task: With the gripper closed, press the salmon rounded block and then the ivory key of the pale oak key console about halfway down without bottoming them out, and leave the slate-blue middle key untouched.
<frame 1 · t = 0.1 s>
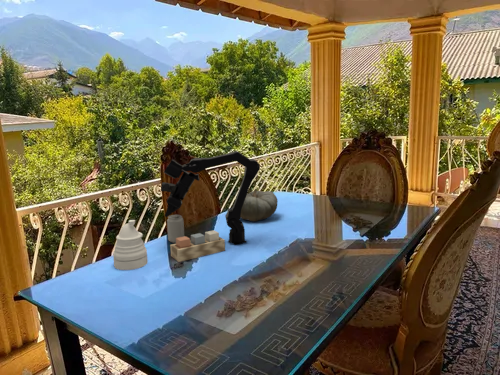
hand: (166, 213, 170), 15 cm above the table, fingers open, 9 cm apart
can: (176, 241, 179), on the table
gourd: (255, 218, 215), on the table
key console: (198, 253, 162), on the table
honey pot: (131, 264, 152), on the table
slate key: (197, 241, 161), point 5 cm above the table, slide at 0.0 cm
salmon rounded block: (183, 244, 158), point 5 cm above the table, slide at 0.0 cm
ivory key: (212, 237, 165), point 5 cm above the table, slide at 0.0 cm
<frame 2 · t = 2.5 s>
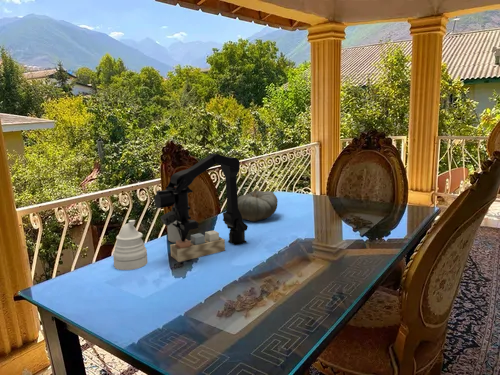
hand: (183, 240, 157), 7 cm above the table, fingers closed, pressing on salmon rounded block
salmon rounded block: (183, 246, 158), point 4 cm above the table, slide at 1.0 cm, touching gripper
everything else where it was.
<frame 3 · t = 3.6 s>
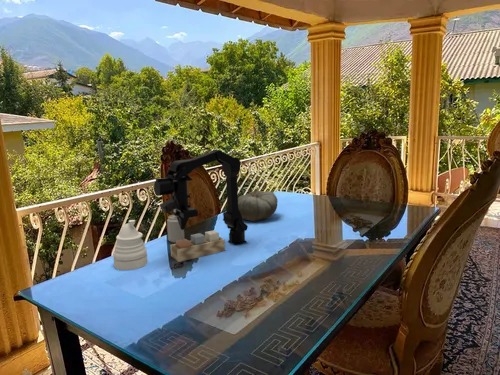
hand: (182, 229, 156), 12 cm above the table, fingers closed
salmon rounded block: (183, 246, 158), point 4 cm above the table, slide at 1.1 cm
everything else where it was.
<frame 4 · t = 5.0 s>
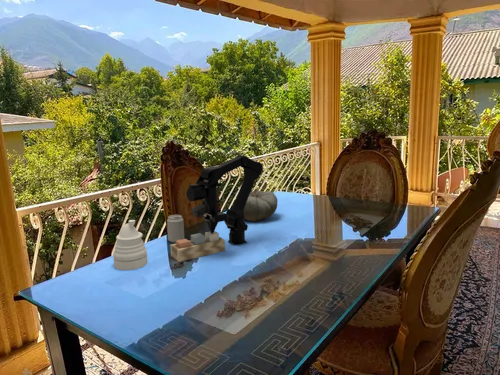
hand: (211, 232, 165), 8 cm above the table, fingers closed, pressing on ivory key
ivory key: (212, 238, 165), point 5 cm above the table, slide at 0.2 cm, touching gripper
everything else where it was.
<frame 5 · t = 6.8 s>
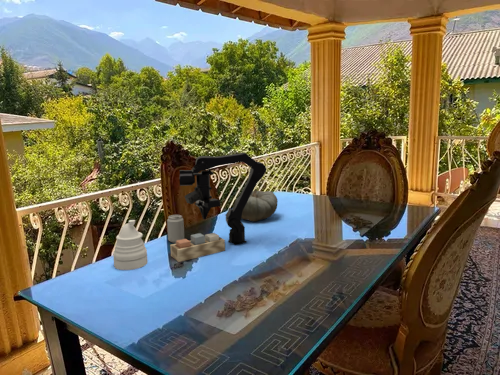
hand: (204, 218, 171), 12 cm above the table, fingers closed
ivory key: (212, 240, 165), point 4 cm above the table, slide at 1.2 cm
everything else where it was.
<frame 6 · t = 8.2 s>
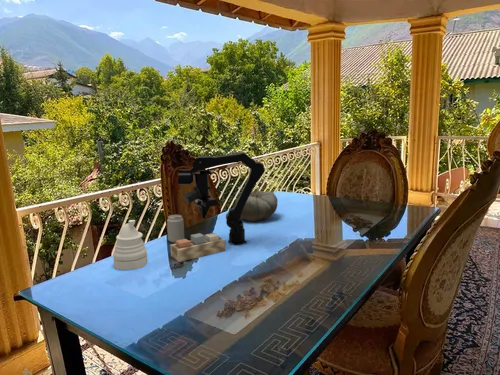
hand: (203, 218, 173), 12 cm above the table, fingers closed
nothing on the table moved.
at the end: salmon rounded block slide at 1.1 cm; ivory key slide at 1.2 cm; slate key slide at 0.0 cm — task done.
